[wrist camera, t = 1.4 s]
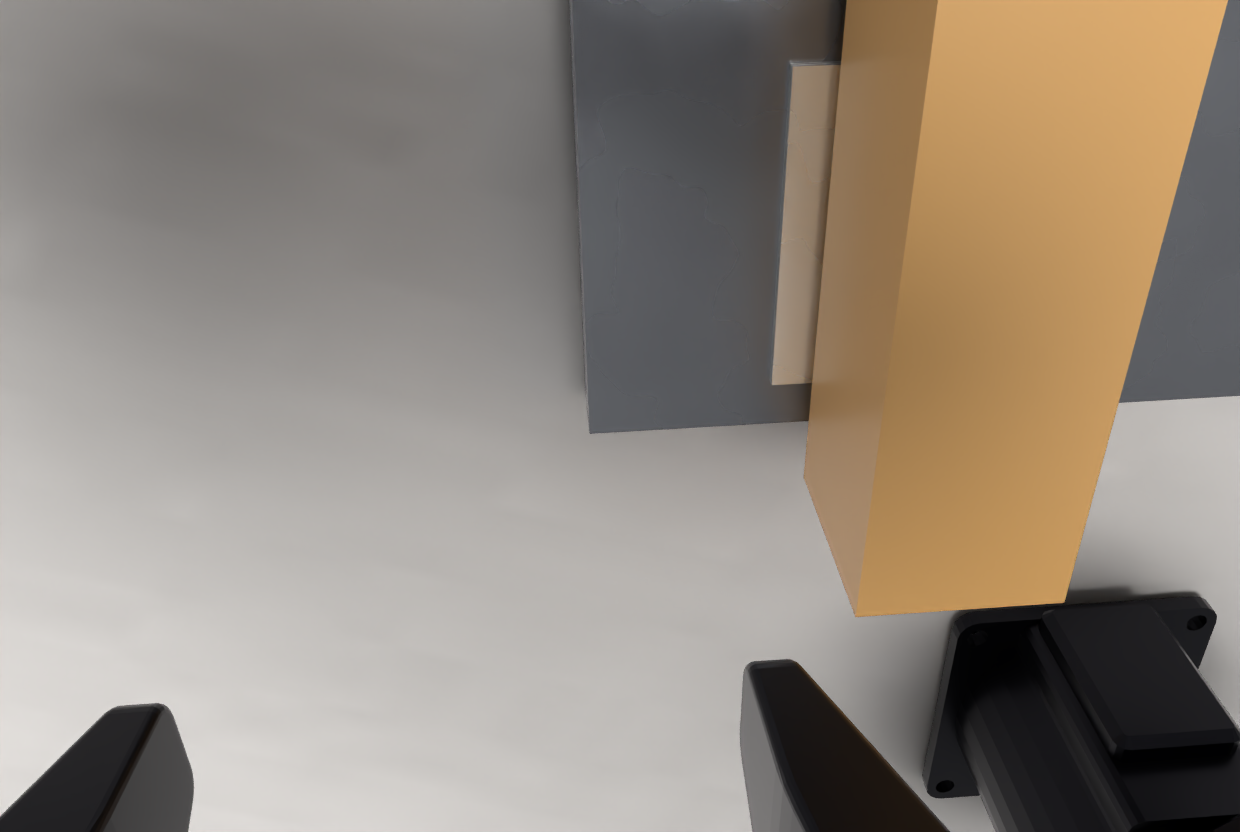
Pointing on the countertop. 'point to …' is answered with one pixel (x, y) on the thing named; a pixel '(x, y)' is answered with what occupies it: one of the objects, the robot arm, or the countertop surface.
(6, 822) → the robot arm
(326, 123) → the countertop surface
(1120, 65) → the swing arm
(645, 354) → the label panel
